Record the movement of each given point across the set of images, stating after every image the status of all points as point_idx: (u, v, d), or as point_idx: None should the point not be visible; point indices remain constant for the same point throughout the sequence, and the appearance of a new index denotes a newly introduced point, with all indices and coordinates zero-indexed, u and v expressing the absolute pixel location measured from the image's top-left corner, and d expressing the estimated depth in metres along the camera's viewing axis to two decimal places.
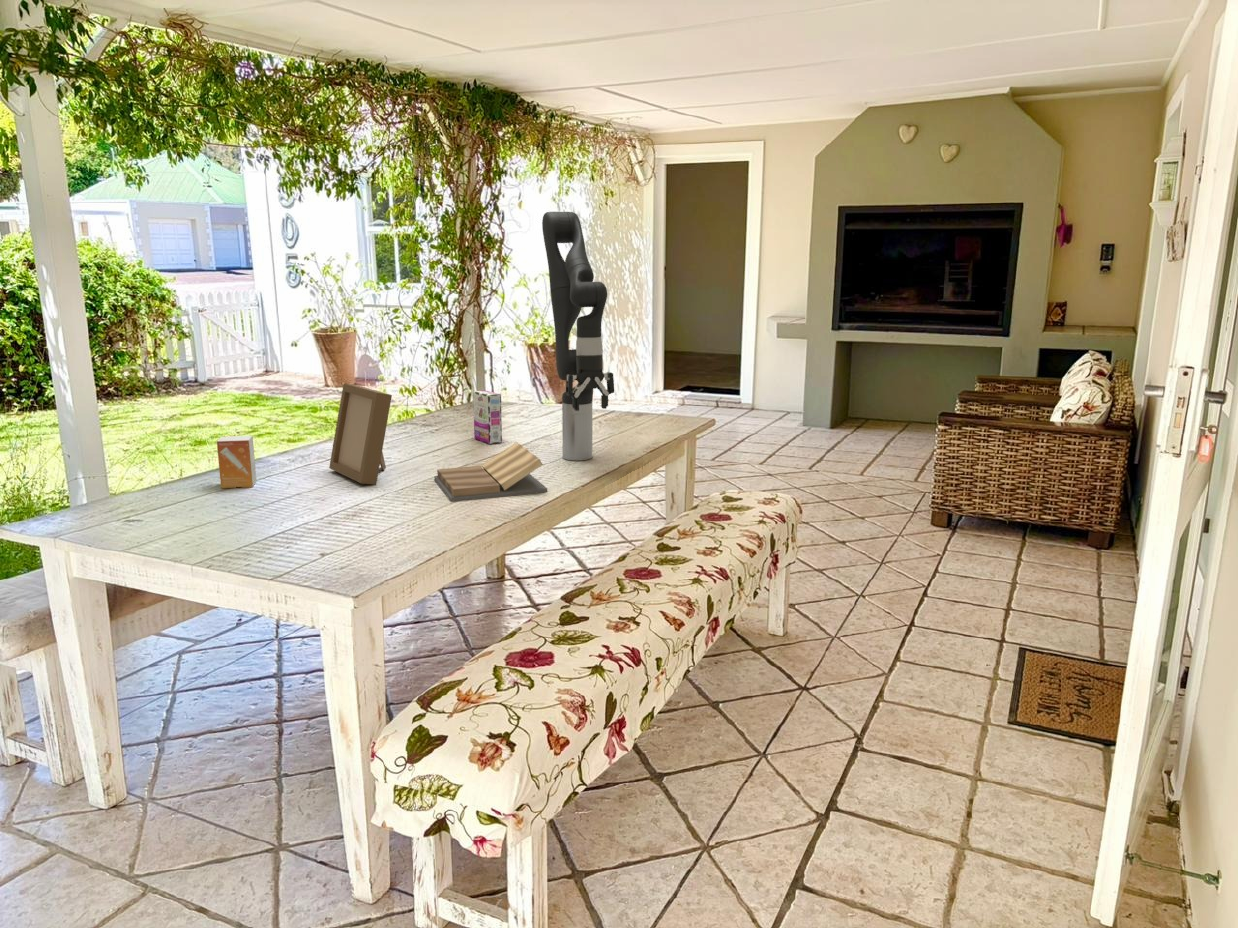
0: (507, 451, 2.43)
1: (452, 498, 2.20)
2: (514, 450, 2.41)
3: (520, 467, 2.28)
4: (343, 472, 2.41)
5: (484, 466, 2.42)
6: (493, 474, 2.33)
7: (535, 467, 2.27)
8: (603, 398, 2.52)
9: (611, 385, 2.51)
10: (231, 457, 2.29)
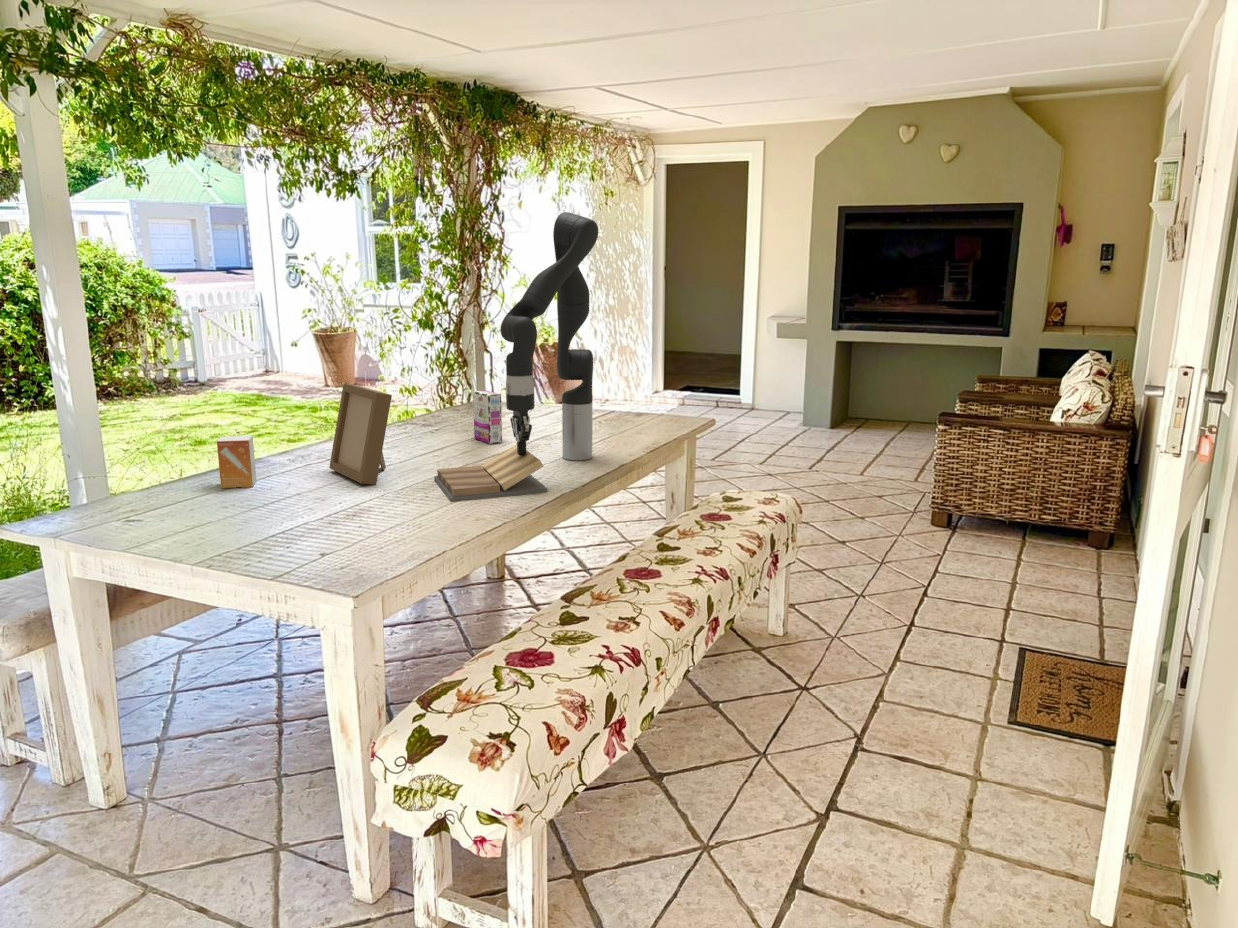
0: (508, 452, 2.44)
1: (452, 498, 2.20)
2: (515, 452, 2.41)
3: (521, 468, 2.28)
4: (343, 472, 2.41)
5: (484, 466, 2.42)
6: (493, 474, 2.33)
7: (536, 469, 2.27)
8: None
9: None
10: (231, 457, 2.29)
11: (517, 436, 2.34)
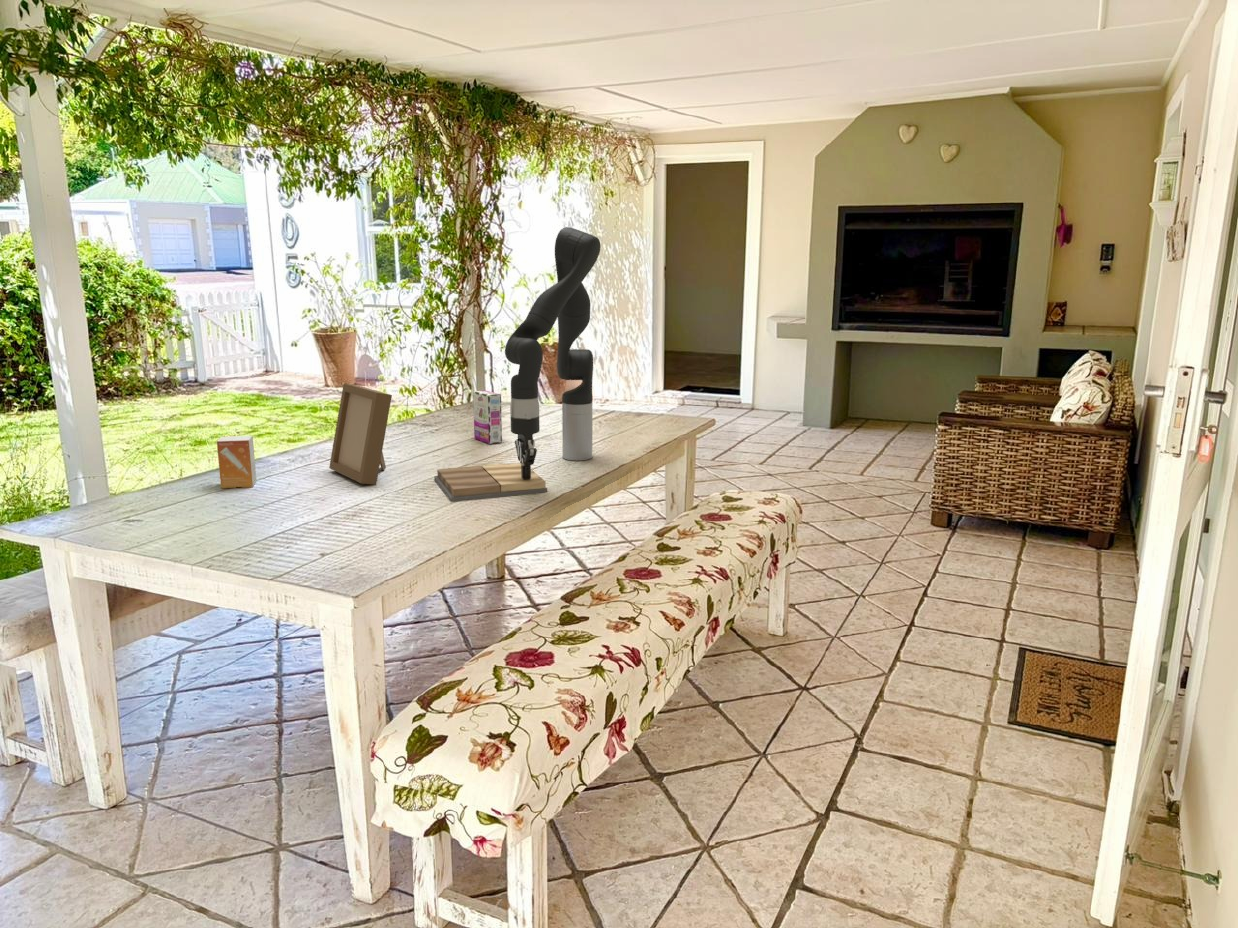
0: (511, 465, 2.45)
1: (452, 498, 2.20)
2: (519, 467, 2.43)
3: (524, 480, 2.29)
4: (343, 472, 2.41)
5: (484, 467, 2.42)
6: (493, 475, 2.34)
7: (538, 486, 2.28)
8: None
9: None
10: (231, 457, 2.29)
11: (521, 460, 2.29)
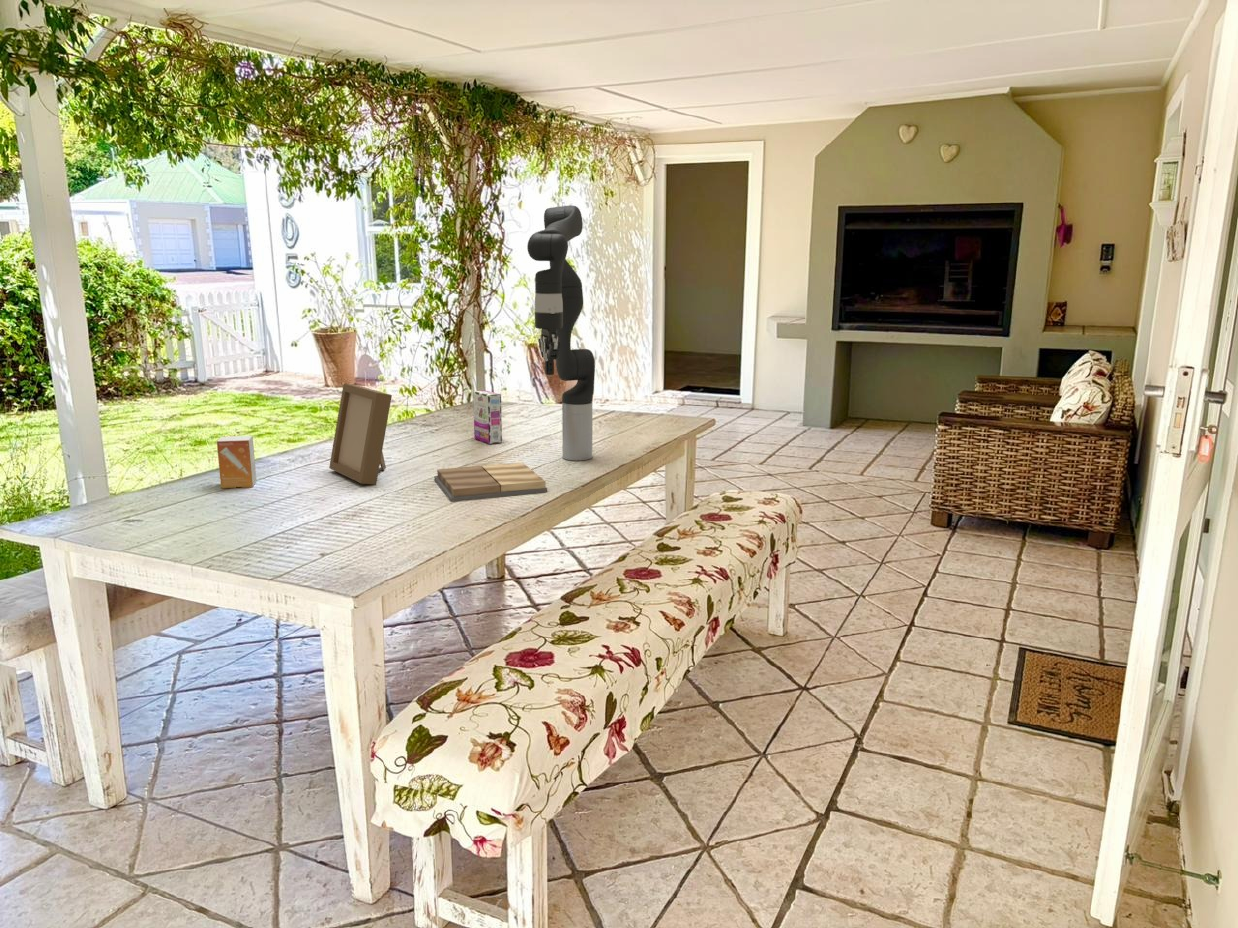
0: (511, 465, 2.45)
1: (452, 498, 2.20)
2: (519, 467, 2.43)
3: (524, 480, 2.29)
4: (343, 472, 2.41)
5: (484, 467, 2.42)
6: (493, 475, 2.34)
7: (538, 486, 2.28)
8: None
9: None
10: (231, 457, 2.29)
11: (545, 355, 2.35)
